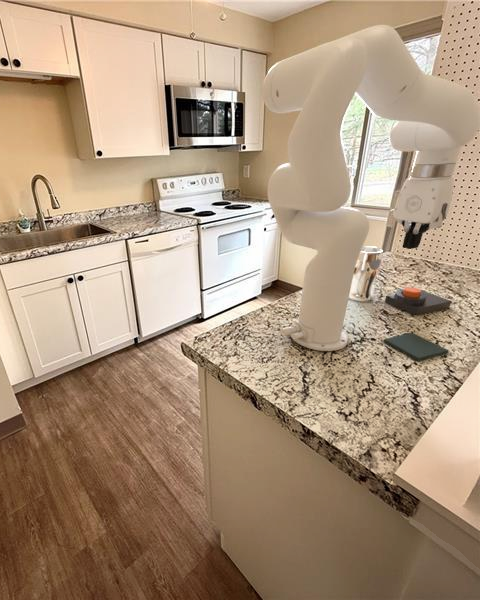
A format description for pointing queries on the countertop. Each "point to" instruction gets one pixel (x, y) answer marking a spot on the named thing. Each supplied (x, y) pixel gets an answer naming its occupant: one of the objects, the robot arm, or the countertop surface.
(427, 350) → the mat
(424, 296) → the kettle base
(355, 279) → the beer glass
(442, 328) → the countertop surface
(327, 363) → the countertop surface
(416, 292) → the switch
